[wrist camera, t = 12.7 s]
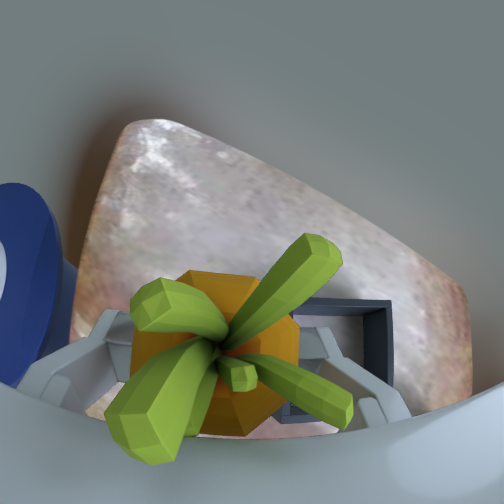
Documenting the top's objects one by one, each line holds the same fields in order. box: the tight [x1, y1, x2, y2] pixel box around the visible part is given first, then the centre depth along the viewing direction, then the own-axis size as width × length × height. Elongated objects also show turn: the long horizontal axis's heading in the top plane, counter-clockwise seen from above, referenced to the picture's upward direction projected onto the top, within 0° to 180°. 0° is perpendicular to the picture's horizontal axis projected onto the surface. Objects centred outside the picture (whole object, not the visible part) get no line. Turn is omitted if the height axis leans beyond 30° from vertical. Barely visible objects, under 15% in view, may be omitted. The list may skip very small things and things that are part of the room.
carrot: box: [104, 233, 354, 465], centre depth 10 cm, size 5×5×15 cm
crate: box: [271, 297, 394, 424], centre depth 26 cm, size 12×12×5 cm
